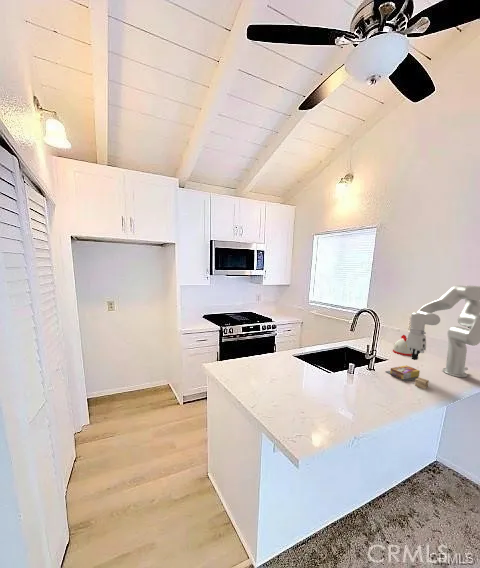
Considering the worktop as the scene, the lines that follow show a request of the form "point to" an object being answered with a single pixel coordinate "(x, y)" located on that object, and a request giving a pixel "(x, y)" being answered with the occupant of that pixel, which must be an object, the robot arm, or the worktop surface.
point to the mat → (404, 379)
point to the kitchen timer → (402, 347)
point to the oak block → (421, 382)
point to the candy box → (404, 372)
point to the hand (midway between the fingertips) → (414, 359)
